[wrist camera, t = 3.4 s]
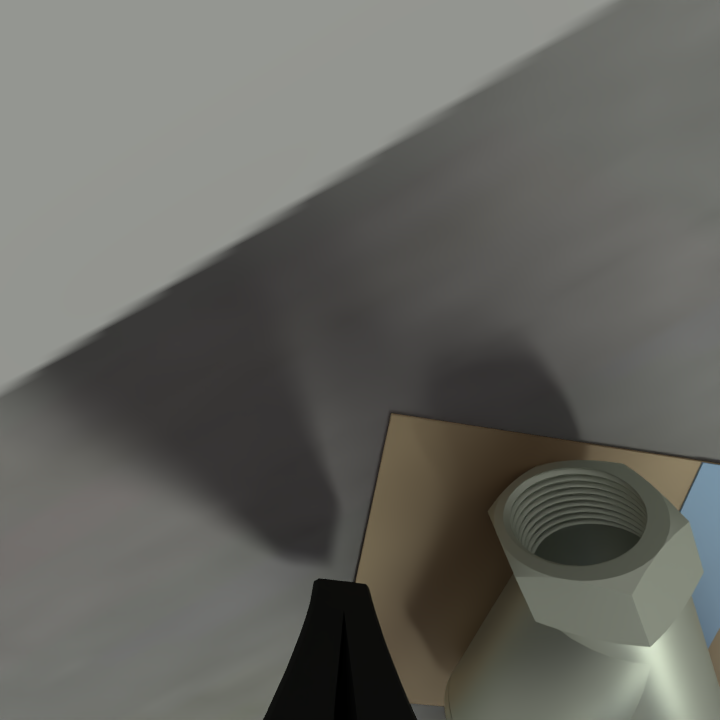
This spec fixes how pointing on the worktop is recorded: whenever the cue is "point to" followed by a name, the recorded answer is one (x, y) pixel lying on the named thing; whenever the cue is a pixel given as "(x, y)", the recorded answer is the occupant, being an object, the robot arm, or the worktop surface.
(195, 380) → the worktop surface
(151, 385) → the worktop surface
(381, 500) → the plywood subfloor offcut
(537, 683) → the pipe fitting
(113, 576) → the worktop surface
